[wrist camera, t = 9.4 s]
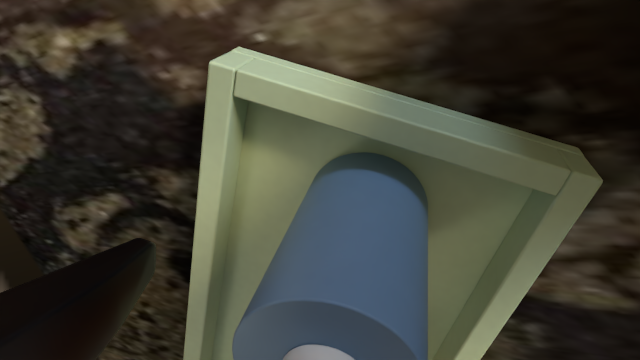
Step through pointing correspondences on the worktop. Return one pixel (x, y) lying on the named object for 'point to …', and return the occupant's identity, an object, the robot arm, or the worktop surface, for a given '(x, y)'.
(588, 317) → the worktop surface
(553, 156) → the tray
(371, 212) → the blue bottle
